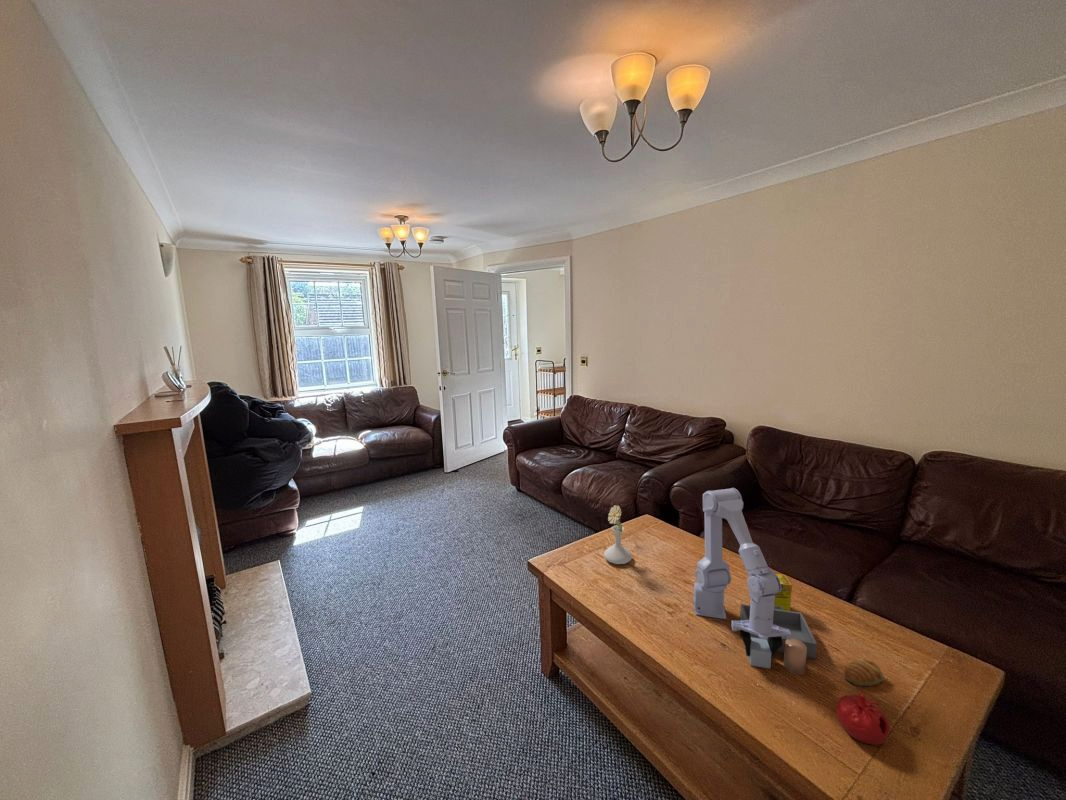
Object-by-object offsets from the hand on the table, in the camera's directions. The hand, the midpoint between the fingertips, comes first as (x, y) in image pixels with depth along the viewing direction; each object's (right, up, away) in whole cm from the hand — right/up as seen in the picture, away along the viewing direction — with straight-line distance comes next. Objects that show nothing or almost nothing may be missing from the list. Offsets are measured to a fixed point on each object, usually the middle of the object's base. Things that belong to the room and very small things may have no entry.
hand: (758, 655), depth 117 cm
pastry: (+25, -2, -6) cm, 26 cm away
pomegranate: (+13, -5, -20) cm, 24 cm away
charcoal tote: (+10, 0, +9) cm, 13 cm away
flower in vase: (-29, +6, +53) cm, 60 cm away
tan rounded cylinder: (+9, -2, -2) cm, 9 cm away
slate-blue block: (0, -1, 0) cm, 1 cm away
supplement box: (+18, +2, +21) cm, 28 cm away
